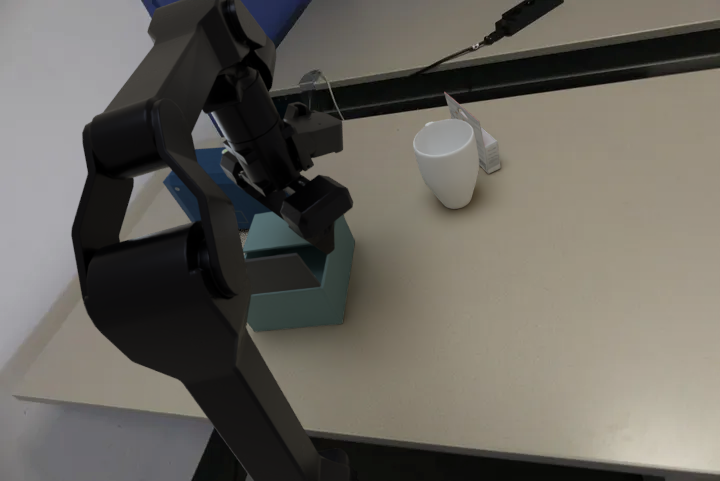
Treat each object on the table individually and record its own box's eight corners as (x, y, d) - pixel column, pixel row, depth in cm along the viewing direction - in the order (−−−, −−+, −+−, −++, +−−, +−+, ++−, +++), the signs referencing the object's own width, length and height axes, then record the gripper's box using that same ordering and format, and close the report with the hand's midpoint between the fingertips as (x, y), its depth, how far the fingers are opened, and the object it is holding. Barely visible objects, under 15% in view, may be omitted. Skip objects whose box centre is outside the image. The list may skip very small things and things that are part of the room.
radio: (316, 196, 88) (267, 93, 75) (297, 234, 83) (240, 130, 70) (216, 198, 97) (156, 106, 84) (193, 232, 92) (125, 140, 78)
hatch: (321, 284, 63) (320, 287, 62) (227, 294, 66) (226, 297, 66) (296, 252, 57) (296, 255, 57) (195, 265, 61) (194, 268, 60)
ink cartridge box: (467, 135, 88) (457, 84, 81) (502, 168, 79) (494, 114, 73) (453, 142, 88) (443, 91, 81) (487, 175, 79) (478, 122, 73)
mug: (494, 205, 75) (484, 140, 67) (439, 226, 75) (422, 164, 67) (464, 160, 83) (451, 98, 76) (415, 179, 84) (397, 120, 76)
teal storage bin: (342, 324, 68) (320, 284, 62) (254, 331, 72) (226, 295, 66) (355, 240, 78) (337, 200, 73) (277, 251, 82) (254, 213, 76)
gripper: (371, 105, 47) (410, 226, 58) (271, 64, 60) (318, 169, 71) (272, 175, 44) (333, 289, 55) (189, 116, 57) (251, 218, 68)
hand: (308, 234), depth 62 cm, fingers open, 9 cm apart
